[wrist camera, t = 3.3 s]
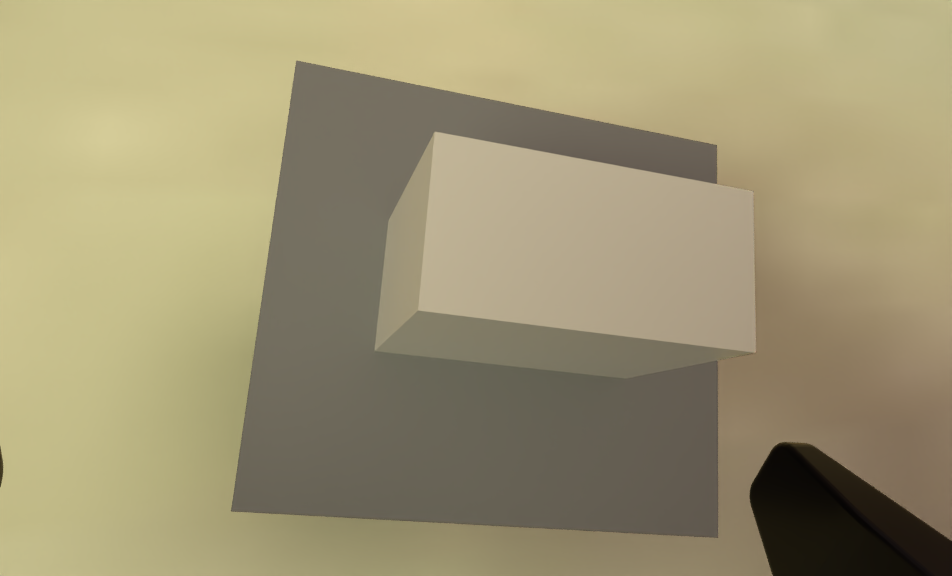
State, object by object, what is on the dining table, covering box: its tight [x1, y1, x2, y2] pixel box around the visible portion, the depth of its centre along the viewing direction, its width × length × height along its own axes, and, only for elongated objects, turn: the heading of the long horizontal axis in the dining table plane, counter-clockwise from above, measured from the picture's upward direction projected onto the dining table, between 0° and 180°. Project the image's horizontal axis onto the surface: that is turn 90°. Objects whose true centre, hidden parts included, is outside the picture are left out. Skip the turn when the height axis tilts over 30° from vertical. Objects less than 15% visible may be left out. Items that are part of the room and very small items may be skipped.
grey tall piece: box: [231, 61, 756, 538], centre depth 11 cm, size 4×4×13 cm
